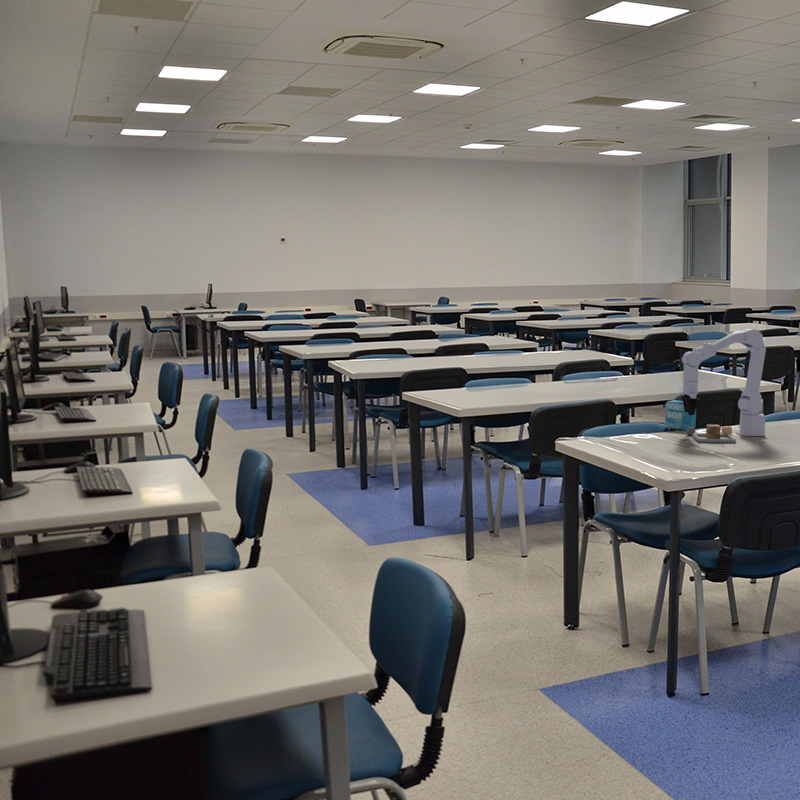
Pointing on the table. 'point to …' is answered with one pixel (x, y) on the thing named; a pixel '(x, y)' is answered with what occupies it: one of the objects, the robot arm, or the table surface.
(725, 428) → the peach rounded tapered piece
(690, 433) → the rubber ball
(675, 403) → the data package
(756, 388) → the robot arm
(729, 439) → the tray
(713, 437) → the walnut block
